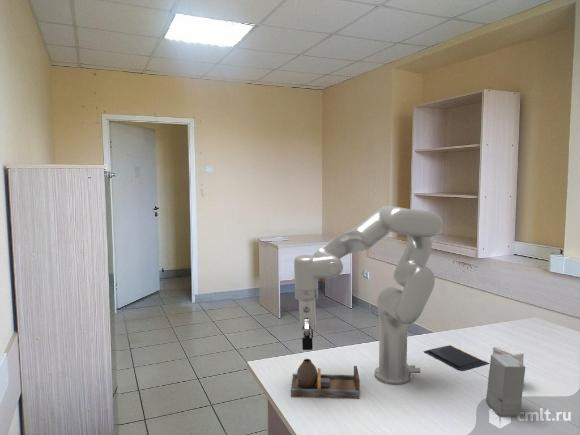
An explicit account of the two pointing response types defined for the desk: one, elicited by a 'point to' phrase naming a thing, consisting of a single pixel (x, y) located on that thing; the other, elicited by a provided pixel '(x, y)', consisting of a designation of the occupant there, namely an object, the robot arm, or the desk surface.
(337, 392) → the tray
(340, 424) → the desk surface
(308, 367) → the vase
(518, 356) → the ink box
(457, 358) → the wallet
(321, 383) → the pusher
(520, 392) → the skincare box
